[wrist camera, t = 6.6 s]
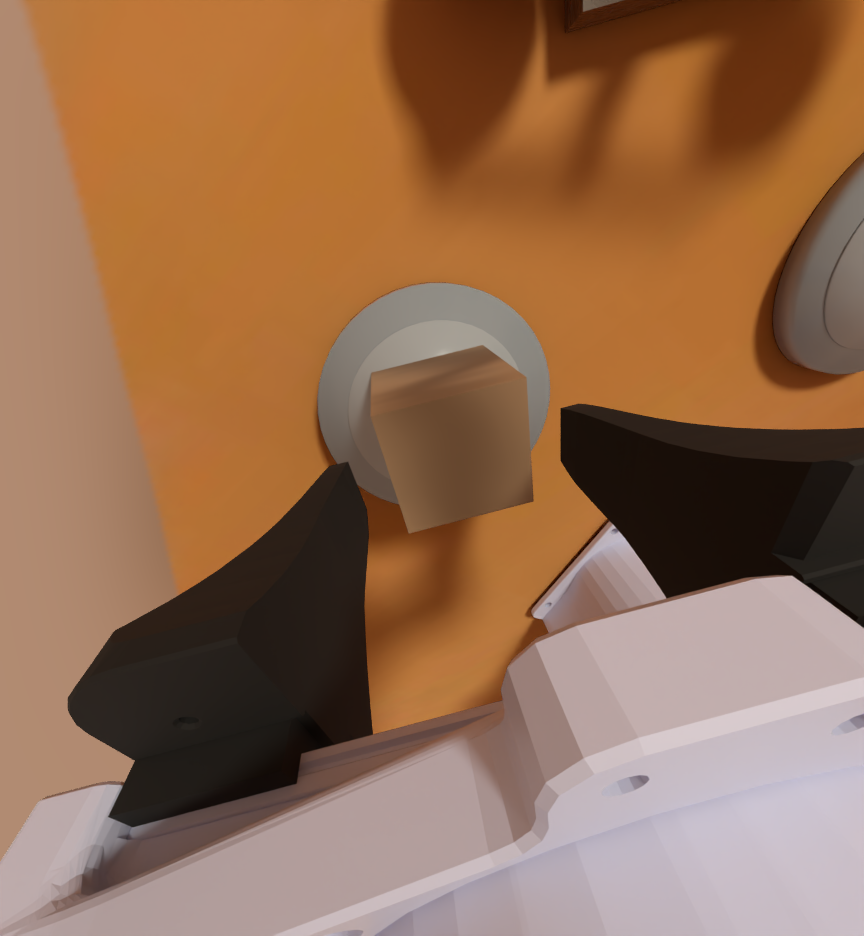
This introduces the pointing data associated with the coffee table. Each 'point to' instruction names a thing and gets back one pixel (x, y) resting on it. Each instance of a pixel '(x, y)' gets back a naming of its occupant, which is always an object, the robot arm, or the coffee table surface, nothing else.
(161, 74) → the coffee table surface
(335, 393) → the left dish
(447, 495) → the walnut block
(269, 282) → the coffee table surface
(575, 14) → the bronze balance
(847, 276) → the right dish
